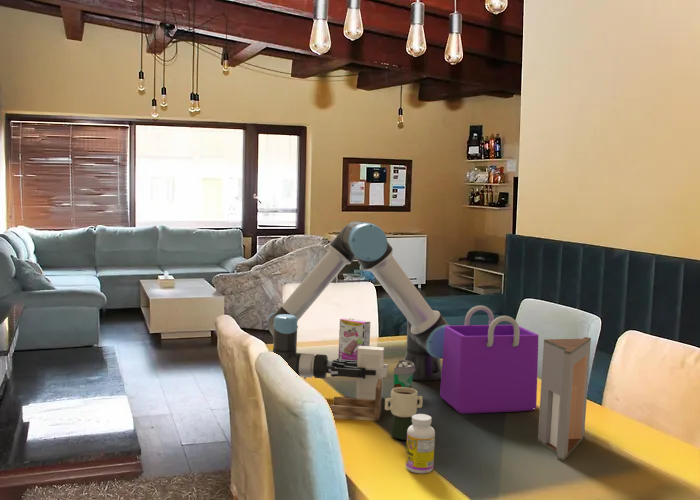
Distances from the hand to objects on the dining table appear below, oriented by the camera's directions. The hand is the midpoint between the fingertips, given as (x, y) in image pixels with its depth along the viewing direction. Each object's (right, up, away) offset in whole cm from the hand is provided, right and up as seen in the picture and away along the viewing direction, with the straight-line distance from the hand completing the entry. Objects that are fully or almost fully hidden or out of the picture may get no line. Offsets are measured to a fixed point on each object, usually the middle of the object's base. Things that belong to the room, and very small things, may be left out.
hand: (387, 370), depth 221 cm
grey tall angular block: (+44, -14, -33) cm, 57 cm away
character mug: (+2, -13, -32) cm, 35 cm away
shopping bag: (+31, -11, -1) cm, 33 cm away
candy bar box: (-10, -5, +45) cm, 47 cm away
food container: (+6, -9, +7) cm, 13 cm away
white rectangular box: (-6, -9, +1) cm, 10 cm away
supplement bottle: (+5, -15, -53) cm, 55 cm away
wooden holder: (-11, -10, -15) cm, 21 cm away
